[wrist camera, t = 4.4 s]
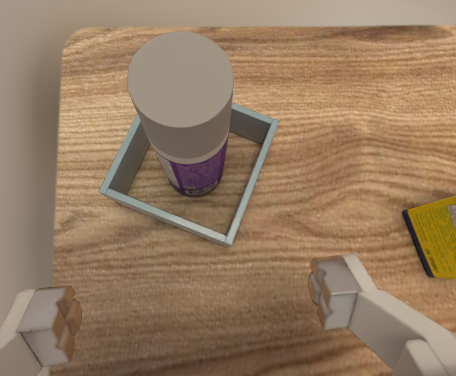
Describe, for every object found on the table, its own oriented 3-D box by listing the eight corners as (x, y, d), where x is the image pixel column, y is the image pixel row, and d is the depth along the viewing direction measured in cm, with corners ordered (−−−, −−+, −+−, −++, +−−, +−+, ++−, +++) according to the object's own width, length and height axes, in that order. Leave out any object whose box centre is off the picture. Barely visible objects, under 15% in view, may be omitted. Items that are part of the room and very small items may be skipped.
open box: (115, 202, 27) (98, 191, 23) (164, 100, 30) (157, 72, 25) (227, 247, 27) (231, 245, 23) (268, 141, 29) (279, 120, 25)
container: (229, 154, 29) (251, 48, 14) (212, 204, 28) (216, 145, 13) (178, 137, 29) (147, 14, 14) (159, 187, 28) (105, 109, 13)
